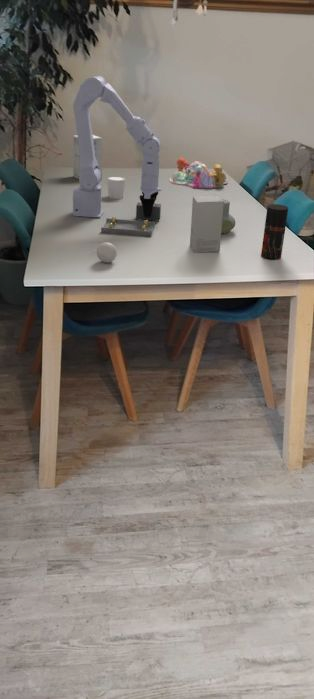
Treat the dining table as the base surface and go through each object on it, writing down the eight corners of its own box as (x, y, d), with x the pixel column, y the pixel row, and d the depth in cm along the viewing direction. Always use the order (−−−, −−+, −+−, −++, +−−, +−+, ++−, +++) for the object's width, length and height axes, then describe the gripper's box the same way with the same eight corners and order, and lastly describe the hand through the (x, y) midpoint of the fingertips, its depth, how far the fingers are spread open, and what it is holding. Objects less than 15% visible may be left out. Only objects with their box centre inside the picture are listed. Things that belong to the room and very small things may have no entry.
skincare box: (214, 245, 199) (219, 195, 191) (220, 252, 193) (225, 201, 186) (188, 245, 197) (192, 195, 190) (193, 253, 191) (197, 201, 184)
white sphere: (115, 258, 184) (116, 239, 181) (117, 265, 179) (117, 246, 176) (88, 258, 183) (89, 239, 180) (89, 265, 178) (89, 246, 175)
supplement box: (102, 179, 268) (103, 138, 260) (82, 181, 264) (82, 138, 256) (92, 174, 275) (92, 134, 268) (72, 176, 271) (72, 134, 263)
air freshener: (204, 234, 208) (207, 204, 203) (199, 227, 215) (201, 197, 211) (237, 235, 210) (240, 204, 205) (230, 227, 217) (233, 197, 212)
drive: (135, 219, 219) (136, 205, 217) (137, 216, 223) (137, 202, 221) (159, 221, 219) (160, 206, 217) (160, 218, 223) (161, 203, 220)
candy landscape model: (225, 178, 284) (227, 157, 280) (229, 191, 263) (231, 168, 259) (169, 175, 284) (170, 153, 280) (168, 187, 263) (169, 164, 259)
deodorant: (280, 261, 189) (288, 210, 182) (260, 258, 190) (267, 208, 183) (281, 254, 194) (288, 205, 187) (261, 252, 195) (267, 203, 188)
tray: (101, 232, 204) (101, 224, 203) (106, 222, 214) (106, 215, 213) (151, 236, 204) (151, 228, 202) (154, 226, 213) (154, 218, 212)
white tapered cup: (128, 198, 244) (128, 179, 241) (112, 200, 241) (113, 181, 237) (118, 193, 249) (119, 175, 246) (103, 195, 246) (103, 177, 242)
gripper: (160, 180, 207) (158, 221, 214) (163, 170, 220) (161, 209, 226) (138, 178, 208) (136, 219, 214) (143, 169, 221) (141, 208, 227)
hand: (148, 214), depth 220 cm, fingers open, 5 cm apart
